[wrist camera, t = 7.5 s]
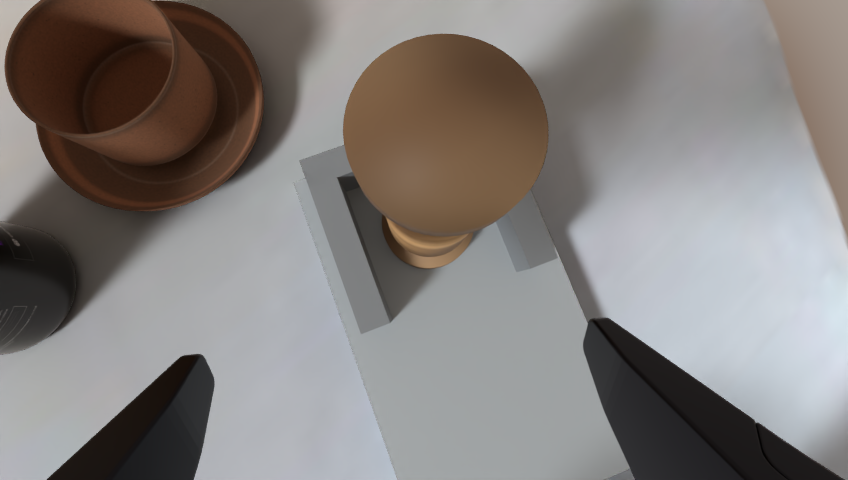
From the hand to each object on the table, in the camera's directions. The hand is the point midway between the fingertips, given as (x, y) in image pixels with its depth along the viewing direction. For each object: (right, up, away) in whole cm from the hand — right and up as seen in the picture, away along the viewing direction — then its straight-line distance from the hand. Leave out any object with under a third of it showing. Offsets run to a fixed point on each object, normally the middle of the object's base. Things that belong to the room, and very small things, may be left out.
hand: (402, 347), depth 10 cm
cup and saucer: (-14, +10, +15) cm, 23 cm away
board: (+3, -2, +13) cm, 14 cm away
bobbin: (+1, +3, +13) cm, 13 cm away
